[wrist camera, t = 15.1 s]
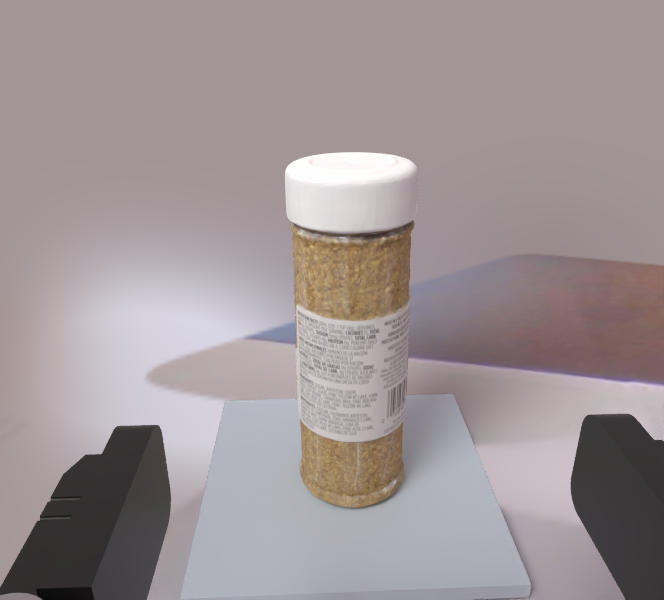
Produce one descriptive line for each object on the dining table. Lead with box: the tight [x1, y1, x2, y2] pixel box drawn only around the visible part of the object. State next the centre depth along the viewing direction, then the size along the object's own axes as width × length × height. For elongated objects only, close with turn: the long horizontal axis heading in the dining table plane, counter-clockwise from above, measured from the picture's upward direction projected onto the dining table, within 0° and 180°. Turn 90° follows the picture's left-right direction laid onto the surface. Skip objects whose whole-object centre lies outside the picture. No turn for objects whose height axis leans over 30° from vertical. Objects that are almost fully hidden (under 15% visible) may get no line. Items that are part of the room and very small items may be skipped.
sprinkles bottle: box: [285, 152, 418, 508], centre depth 23 cm, size 5×5×14 cm
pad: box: [180, 394, 531, 600], centre depth 26 cm, size 12×12×1 cm
